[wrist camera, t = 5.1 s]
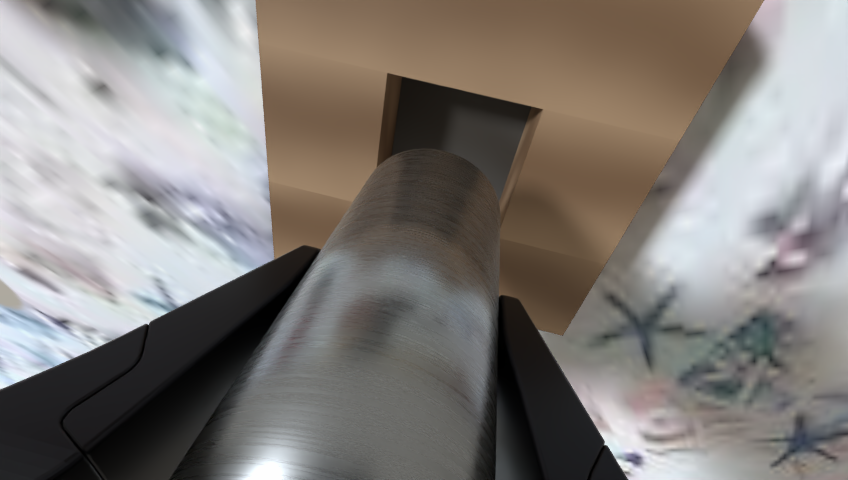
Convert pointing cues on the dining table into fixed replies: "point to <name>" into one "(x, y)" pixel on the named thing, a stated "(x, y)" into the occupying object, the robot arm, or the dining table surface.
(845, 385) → the dining table surface
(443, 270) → the metal pin
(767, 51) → the dining table surface
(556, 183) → the walnut block
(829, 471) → the dining table surface
